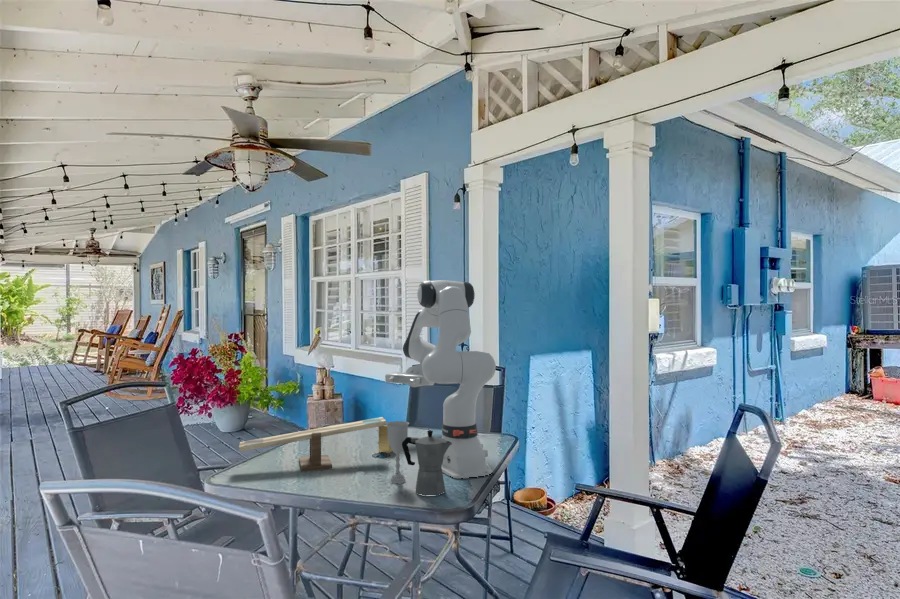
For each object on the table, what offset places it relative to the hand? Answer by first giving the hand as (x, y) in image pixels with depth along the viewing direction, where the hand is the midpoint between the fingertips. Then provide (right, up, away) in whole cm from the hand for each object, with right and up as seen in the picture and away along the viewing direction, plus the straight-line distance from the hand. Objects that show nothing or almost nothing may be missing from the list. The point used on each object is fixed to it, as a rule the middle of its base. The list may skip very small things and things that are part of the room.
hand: (401, 381), depth 215 cm
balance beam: (-27, -14, -29) cm, 42 cm away
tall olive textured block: (-4, -25, -12) cm, 28 cm away
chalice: (+3, -24, -47) cm, 53 cm away
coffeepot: (+13, -24, -57) cm, 63 cm away
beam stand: (-27, -24, -29) cm, 47 cm away
